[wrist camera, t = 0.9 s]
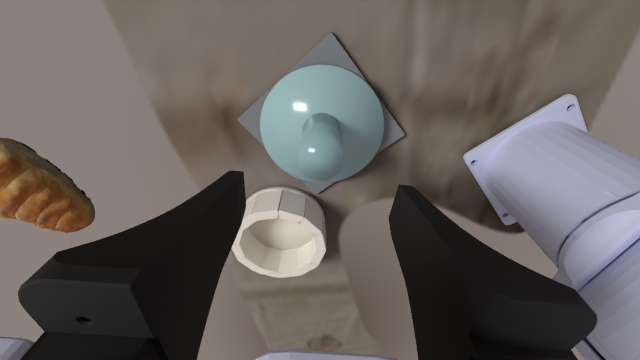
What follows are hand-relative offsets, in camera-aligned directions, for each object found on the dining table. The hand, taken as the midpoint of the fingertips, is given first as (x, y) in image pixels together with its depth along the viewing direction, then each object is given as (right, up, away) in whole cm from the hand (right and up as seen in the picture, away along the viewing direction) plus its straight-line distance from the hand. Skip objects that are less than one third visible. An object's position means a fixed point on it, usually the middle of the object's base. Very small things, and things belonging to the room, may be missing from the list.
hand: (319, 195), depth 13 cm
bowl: (-4, -3, +13) cm, 14 cm away
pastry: (-25, +1, +12) cm, 28 cm away
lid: (0, +5, +8) cm, 9 cm away
